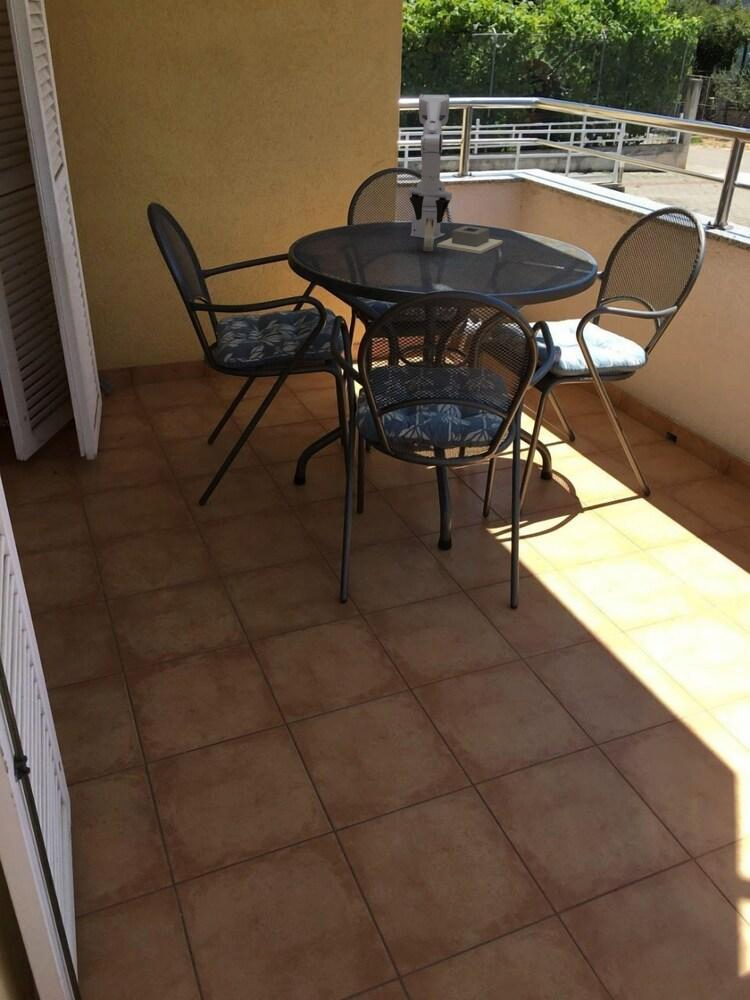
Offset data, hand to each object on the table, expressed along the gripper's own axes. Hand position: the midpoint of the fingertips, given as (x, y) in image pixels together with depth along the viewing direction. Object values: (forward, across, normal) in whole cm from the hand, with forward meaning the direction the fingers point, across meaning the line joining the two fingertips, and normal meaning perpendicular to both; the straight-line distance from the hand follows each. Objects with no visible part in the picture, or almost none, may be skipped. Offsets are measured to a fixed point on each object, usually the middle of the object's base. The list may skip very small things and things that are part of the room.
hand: (429, 220), depth 264 cm
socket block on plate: (+9, +8, +14) cm, 19 cm away
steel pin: (+9, 0, 0) cm, 9 cm away
